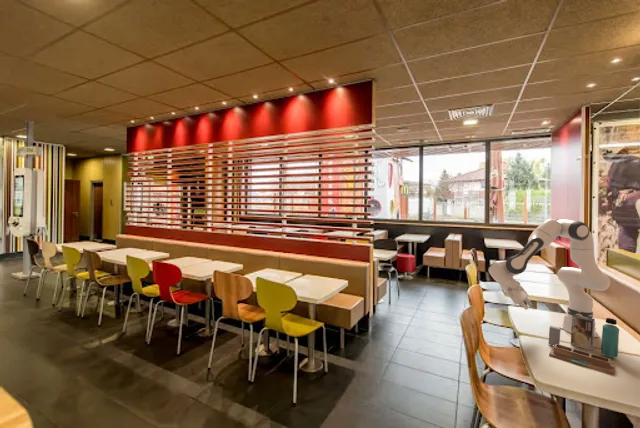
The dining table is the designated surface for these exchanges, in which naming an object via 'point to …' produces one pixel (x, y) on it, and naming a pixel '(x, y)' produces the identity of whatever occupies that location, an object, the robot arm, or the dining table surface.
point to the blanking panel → (554, 335)
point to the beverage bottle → (610, 338)
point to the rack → (582, 358)
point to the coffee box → (582, 332)
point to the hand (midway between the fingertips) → (529, 307)
